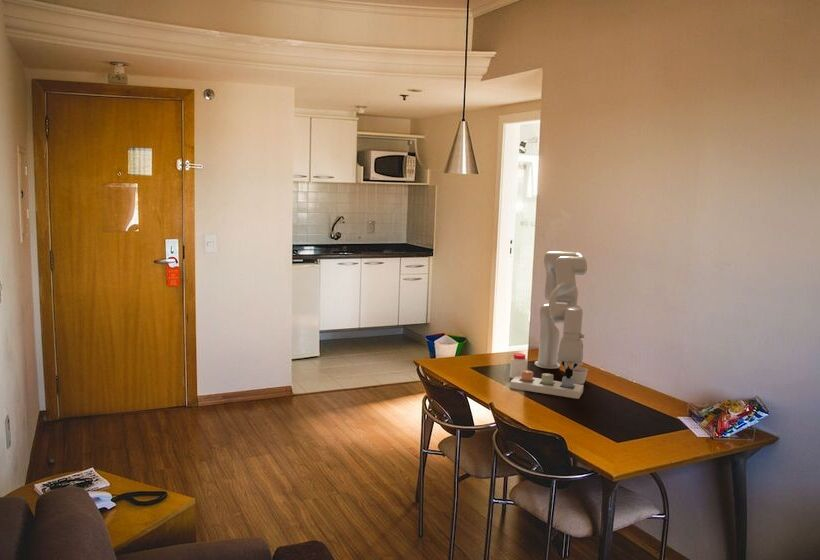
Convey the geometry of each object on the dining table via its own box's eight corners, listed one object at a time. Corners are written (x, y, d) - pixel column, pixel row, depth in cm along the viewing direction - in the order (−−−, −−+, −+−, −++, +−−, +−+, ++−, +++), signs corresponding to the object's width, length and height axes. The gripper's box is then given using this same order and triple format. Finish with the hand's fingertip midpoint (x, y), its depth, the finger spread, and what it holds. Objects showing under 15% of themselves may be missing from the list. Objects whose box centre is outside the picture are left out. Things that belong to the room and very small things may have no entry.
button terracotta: (522, 378, 307) (523, 369, 307) (533, 380, 305) (534, 371, 305) (520, 381, 303) (520, 372, 302) (531, 382, 301) (531, 374, 300)
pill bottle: (525, 375, 322) (527, 353, 321) (526, 380, 315) (528, 357, 313) (509, 374, 323) (510, 352, 322) (510, 379, 315) (511, 356, 314)
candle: (574, 385, 310) (575, 372, 309) (562, 380, 318) (563, 367, 317) (590, 384, 313) (591, 370, 313) (578, 378, 322) (579, 365, 321)
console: (516, 381, 312) (517, 375, 312) (583, 391, 301) (583, 385, 300) (510, 388, 301) (510, 381, 301) (578, 398, 290) (579, 392, 289)
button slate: (562, 384, 300) (563, 375, 300) (574, 386, 299) (575, 377, 298) (560, 387, 296) (561, 378, 295) (572, 389, 294) (573, 380, 293)
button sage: (542, 381, 304) (543, 372, 303) (553, 383, 302) (554, 374, 301) (540, 384, 299) (540, 375, 299) (551, 386, 297) (552, 377, 297)
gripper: (590, 336, 295) (587, 378, 297) (556, 332, 300) (553, 373, 302) (588, 339, 288) (584, 382, 290) (552, 335, 293) (549, 377, 296)
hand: (568, 377), depth 296 cm, fingers closed
